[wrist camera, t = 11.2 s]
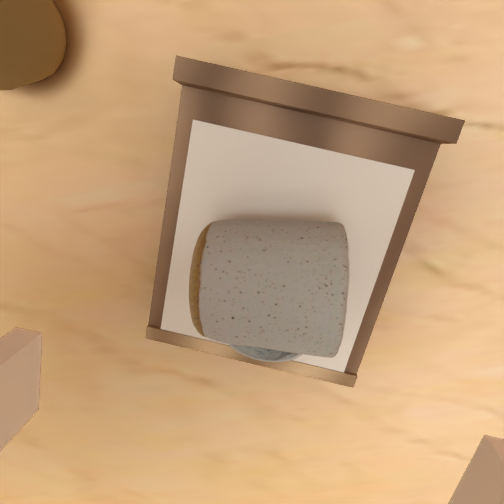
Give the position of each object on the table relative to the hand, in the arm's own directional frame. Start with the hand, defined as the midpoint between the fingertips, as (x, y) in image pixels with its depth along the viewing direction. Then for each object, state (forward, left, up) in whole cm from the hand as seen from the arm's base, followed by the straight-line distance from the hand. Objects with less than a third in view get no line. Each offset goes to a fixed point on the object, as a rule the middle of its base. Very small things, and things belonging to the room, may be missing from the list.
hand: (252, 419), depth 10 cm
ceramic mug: (+1, -1, -15) cm, 15 cm away
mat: (0, +1, -14) cm, 15 cm away
